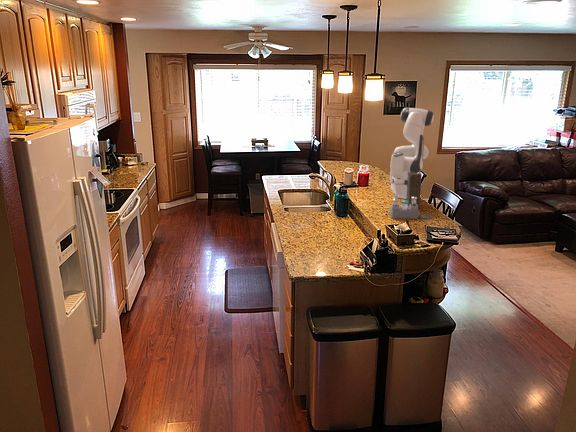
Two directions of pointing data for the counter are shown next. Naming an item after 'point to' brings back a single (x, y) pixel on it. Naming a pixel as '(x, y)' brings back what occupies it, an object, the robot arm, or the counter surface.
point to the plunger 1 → (395, 202)
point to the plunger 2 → (413, 201)
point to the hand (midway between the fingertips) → (395, 199)
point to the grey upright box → (414, 187)
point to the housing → (404, 212)
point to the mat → (425, 217)
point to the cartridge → (404, 205)
